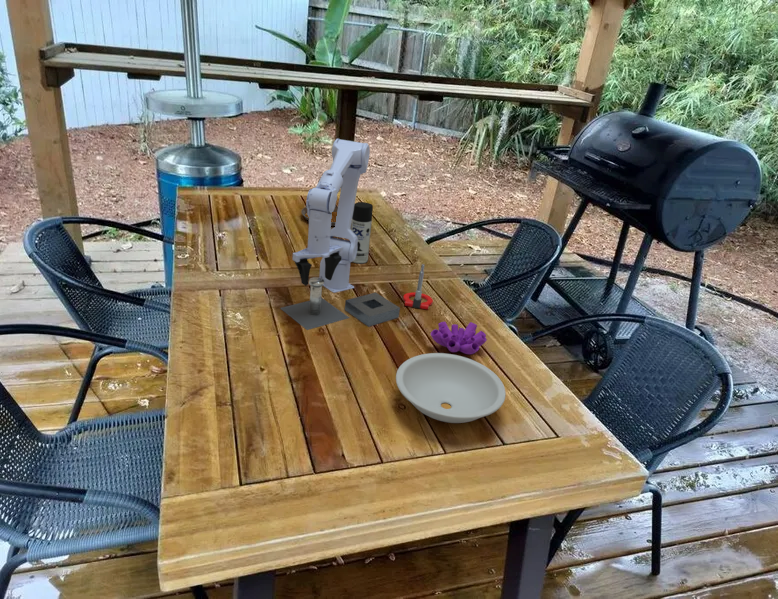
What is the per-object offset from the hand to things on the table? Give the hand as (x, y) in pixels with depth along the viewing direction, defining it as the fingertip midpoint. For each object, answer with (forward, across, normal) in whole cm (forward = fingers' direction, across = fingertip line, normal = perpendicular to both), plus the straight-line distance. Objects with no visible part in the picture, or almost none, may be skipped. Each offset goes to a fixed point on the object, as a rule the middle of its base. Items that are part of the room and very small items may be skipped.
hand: (316, 281), depth 152 cm
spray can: (+10, +35, +26) cm, 45 cm away
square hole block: (+10, +14, -8) cm, 19 cm away
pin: (+10, 0, 0) cm, 10 cm away
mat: (+10, 0, 0) cm, 10 cm away
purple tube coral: (+10, +22, -34) cm, 42 cm away
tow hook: (+10, +32, -8) cm, 35 cm away
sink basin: (+10, +2, -50) cm, 51 cm away
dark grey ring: (+10, +49, +66) cm, 83 cm away
